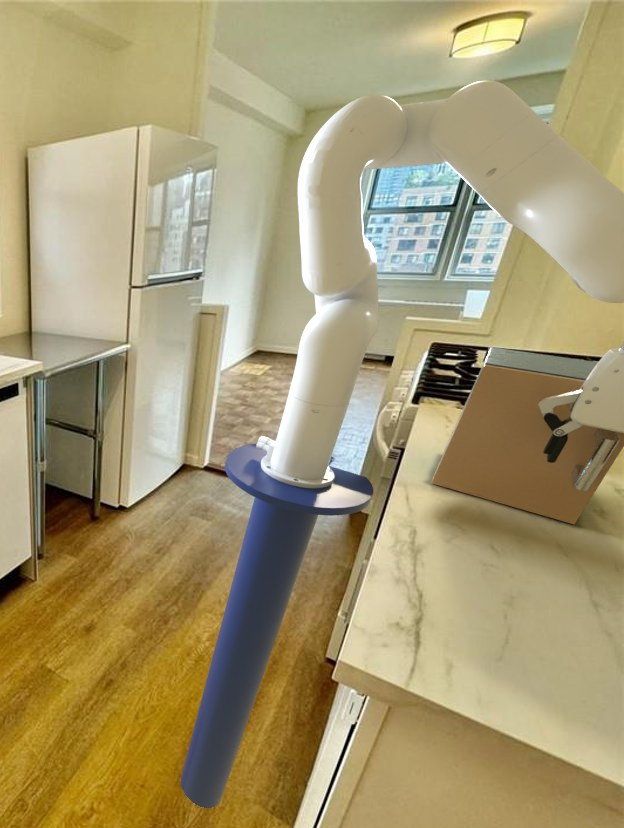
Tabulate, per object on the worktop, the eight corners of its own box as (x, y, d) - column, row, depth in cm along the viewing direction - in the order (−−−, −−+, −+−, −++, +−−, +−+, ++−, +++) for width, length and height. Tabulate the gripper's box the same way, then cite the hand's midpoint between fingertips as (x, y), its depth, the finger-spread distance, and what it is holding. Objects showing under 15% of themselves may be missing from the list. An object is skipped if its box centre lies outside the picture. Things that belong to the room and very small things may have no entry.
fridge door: (576, 542, 71) (665, 405, 61) (425, 496, 82) (480, 374, 72) (573, 522, 76) (656, 391, 66) (431, 481, 87) (484, 364, 77)
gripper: (778, 354, 57) (685, 482, 64) (568, 330, 67) (510, 442, 75) (800, 367, 52) (697, 504, 60) (570, 339, 63) (508, 458, 70)
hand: (593, 469), depth 67 cm, fingers open, 8 cm apart
